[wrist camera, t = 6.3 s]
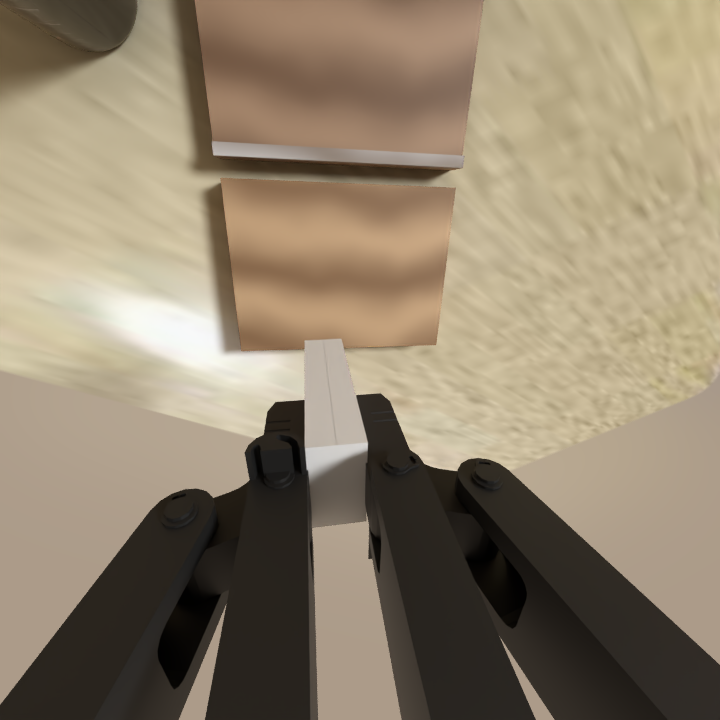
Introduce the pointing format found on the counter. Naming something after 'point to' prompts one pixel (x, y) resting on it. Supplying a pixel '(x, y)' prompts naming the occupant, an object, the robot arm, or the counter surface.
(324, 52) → the walnut board
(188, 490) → the robot arm
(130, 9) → the supplement bottle
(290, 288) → the oak plank
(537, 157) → the counter surface
